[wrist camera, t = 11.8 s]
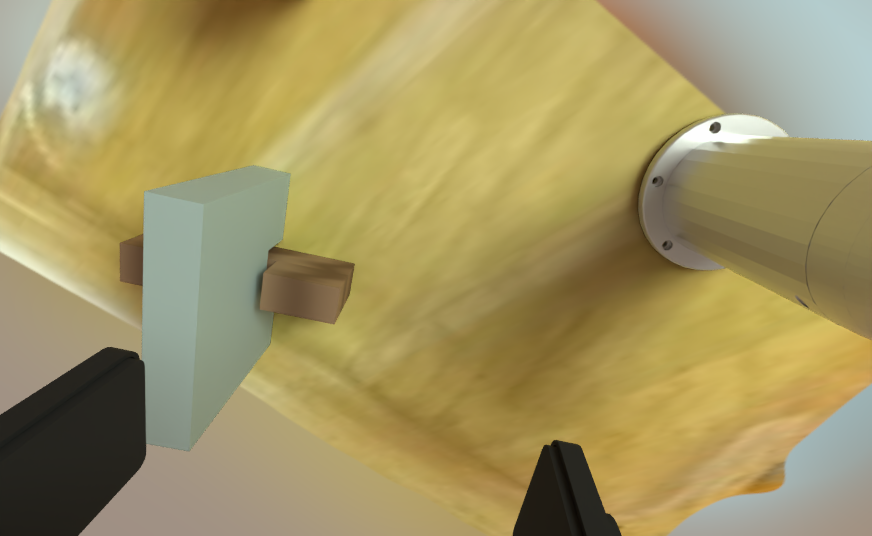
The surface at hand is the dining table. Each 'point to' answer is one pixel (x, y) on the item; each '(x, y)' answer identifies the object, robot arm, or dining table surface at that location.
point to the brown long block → (277, 281)
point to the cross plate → (205, 294)
